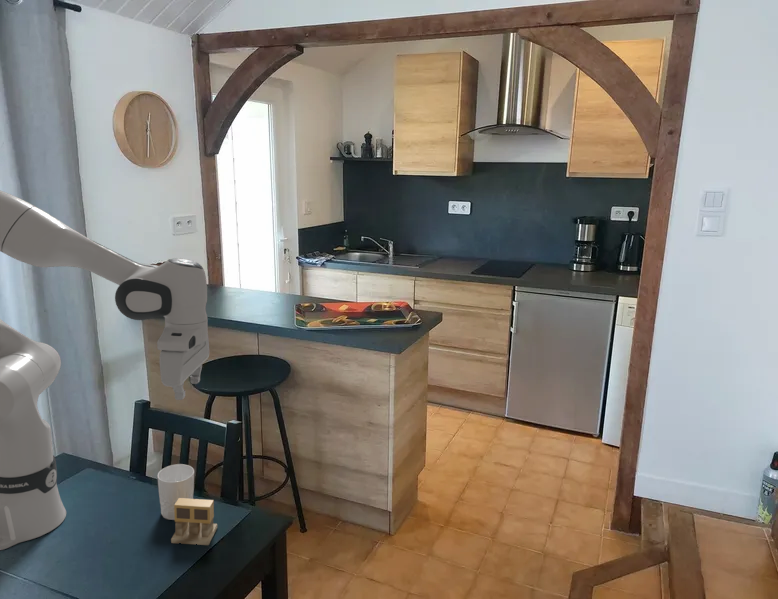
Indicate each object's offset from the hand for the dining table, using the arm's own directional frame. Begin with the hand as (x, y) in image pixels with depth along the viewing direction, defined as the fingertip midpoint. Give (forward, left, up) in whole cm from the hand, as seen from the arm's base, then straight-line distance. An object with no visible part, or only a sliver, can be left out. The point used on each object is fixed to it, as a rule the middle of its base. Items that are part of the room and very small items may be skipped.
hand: (188, 390), depth 124 cm
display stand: (+5, -11, -29) cm, 31 cm away
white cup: (-2, -3, -29) cm, 30 cm away
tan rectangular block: (+5, -11, -25) cm, 28 cm away
